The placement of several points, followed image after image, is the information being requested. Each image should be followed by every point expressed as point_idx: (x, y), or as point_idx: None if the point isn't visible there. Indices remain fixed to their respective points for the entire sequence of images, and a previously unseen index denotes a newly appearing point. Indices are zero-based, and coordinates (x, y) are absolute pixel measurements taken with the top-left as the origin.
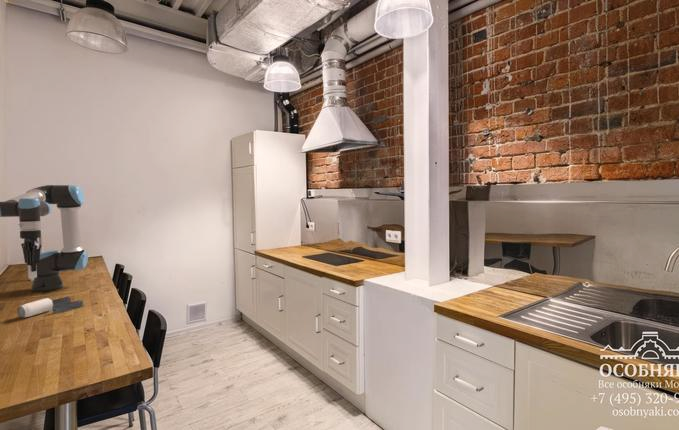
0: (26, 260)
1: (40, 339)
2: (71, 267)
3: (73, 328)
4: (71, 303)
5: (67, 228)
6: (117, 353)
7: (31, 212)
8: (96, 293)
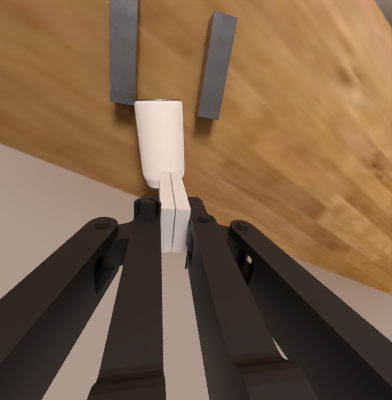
0: (112, 275)
1: (318, 222)
2: None
3: (339, 170)
4: (224, 61)
5: None
6: None
7: None
8: None
